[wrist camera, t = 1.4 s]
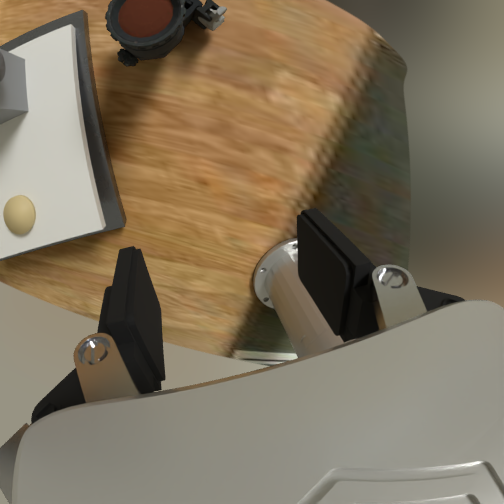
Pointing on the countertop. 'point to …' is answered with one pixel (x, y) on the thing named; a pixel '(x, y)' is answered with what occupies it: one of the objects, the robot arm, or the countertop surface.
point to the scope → (156, 25)
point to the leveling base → (85, 121)
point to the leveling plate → (44, 147)
